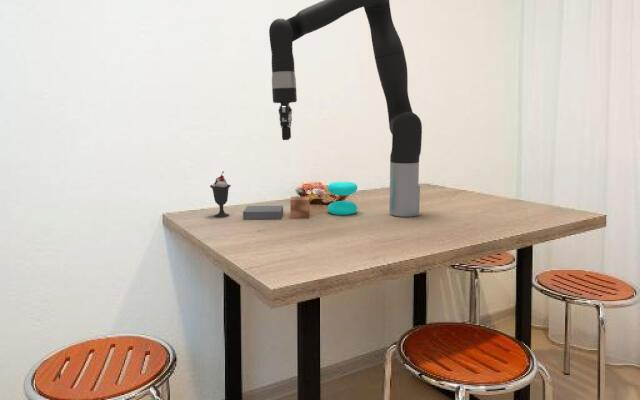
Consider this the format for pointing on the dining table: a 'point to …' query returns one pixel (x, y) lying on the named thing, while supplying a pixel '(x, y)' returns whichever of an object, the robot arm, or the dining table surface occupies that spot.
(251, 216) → the base
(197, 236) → the dining table surface
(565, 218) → the dining table surface
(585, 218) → the dining table surface
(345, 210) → the donuts
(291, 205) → the cube
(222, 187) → the sundae
